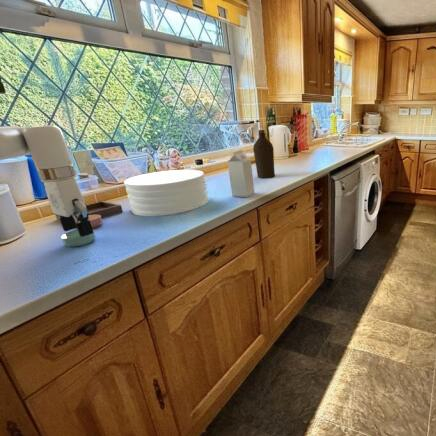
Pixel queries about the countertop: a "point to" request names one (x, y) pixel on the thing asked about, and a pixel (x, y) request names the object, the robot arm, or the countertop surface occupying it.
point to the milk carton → (241, 175)
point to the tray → (101, 209)
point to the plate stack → (166, 192)
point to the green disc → (77, 239)
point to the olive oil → (264, 156)
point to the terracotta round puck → (95, 220)
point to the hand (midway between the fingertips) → (78, 232)
